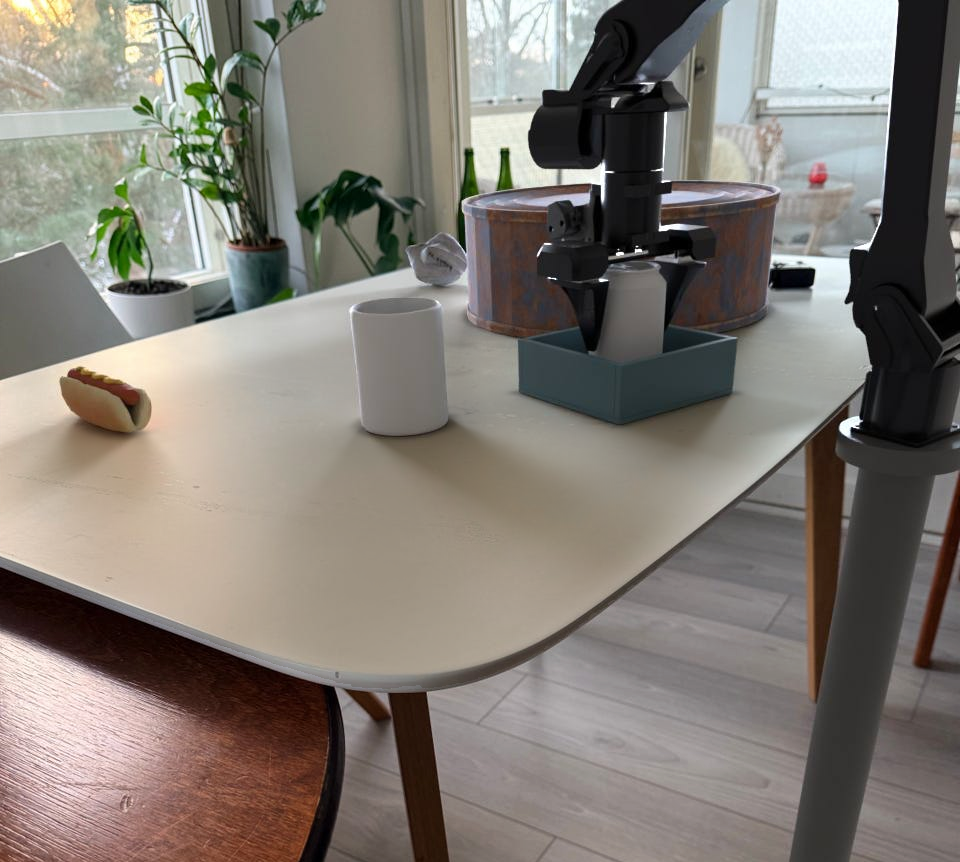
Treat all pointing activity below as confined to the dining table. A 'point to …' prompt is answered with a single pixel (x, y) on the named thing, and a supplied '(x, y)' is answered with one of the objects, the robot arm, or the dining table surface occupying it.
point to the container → (546, 308)
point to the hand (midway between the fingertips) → (625, 343)
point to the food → (105, 400)
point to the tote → (627, 374)
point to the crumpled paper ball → (438, 260)
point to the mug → (400, 365)
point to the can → (632, 312)
